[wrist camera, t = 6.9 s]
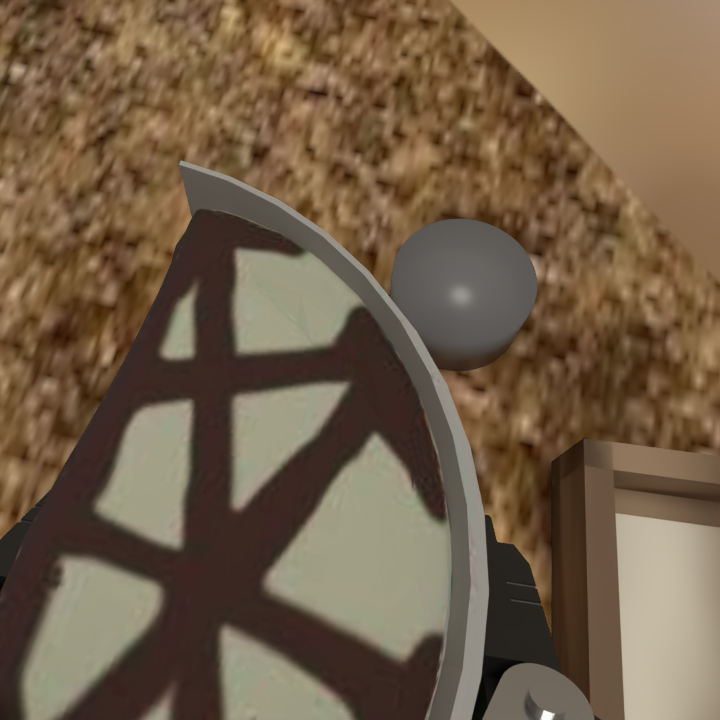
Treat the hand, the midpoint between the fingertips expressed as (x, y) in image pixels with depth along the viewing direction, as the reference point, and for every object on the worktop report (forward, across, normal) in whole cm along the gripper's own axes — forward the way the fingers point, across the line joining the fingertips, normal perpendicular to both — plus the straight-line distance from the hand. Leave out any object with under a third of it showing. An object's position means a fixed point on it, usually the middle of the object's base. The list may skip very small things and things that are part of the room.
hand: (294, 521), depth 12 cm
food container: (+2, 0, +5) cm, 5 cm away
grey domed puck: (+16, -4, -1) cm, 17 cm away
